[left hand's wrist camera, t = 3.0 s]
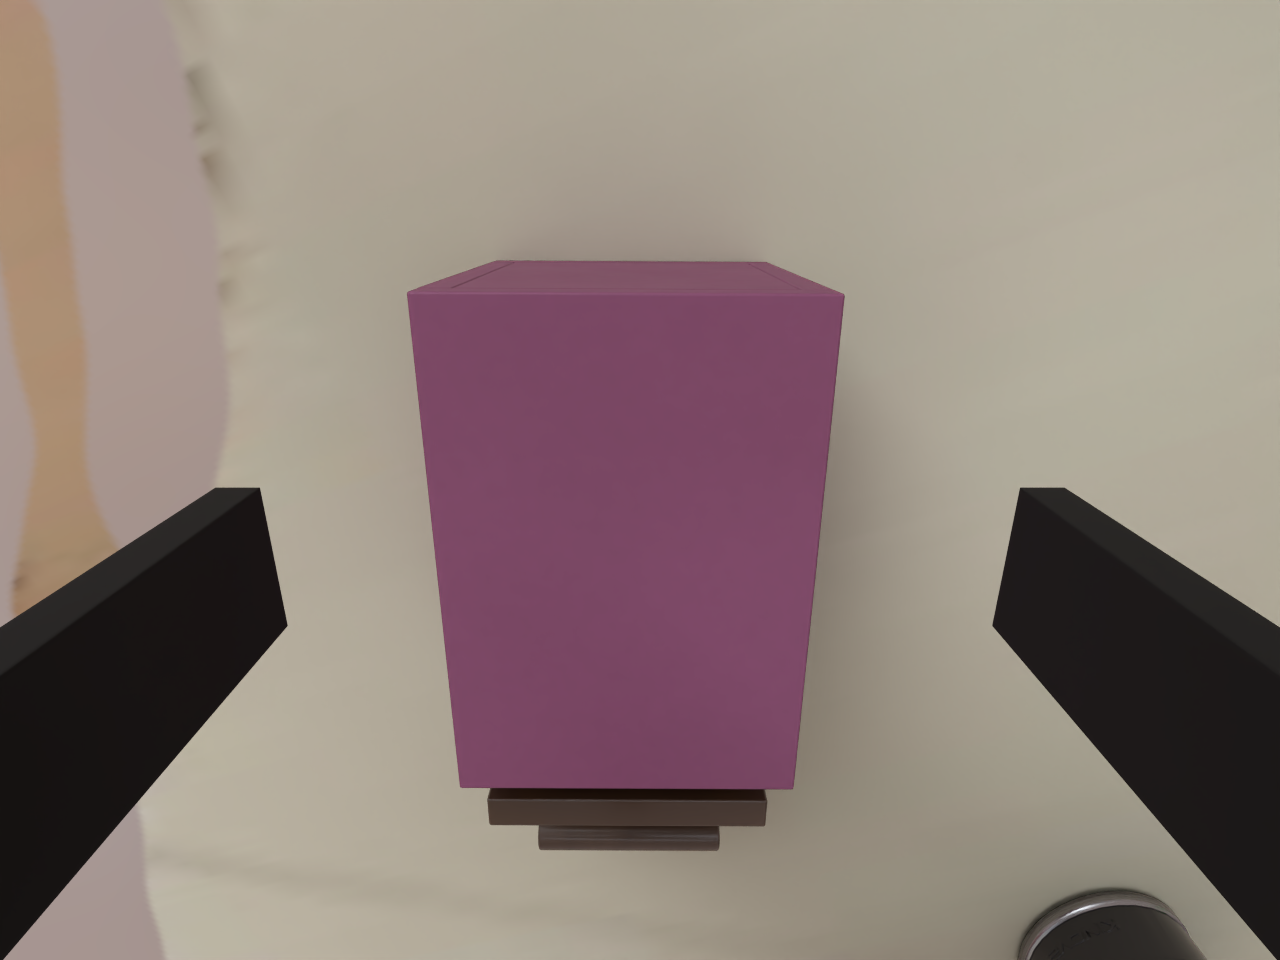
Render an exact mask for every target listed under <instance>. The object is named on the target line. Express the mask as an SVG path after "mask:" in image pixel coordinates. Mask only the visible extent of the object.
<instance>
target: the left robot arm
mask: <svg viewBox="0 0 1280 960" xmlns="http://www.w3.org/2000/svg"><path fill="white" fill-rule="evenodd" d="M287 626H288V625H287V620H286V615H285V610H284V605H283V600H282V595H281V590H280V585H279V581H278V576H277V571H276V566H275V561H274V556H273V551H272V546H271V541H270V536H269V531H268V526H267V521H266V516H265V511H264V506H263V501H262V496H261V491H260V488H214V489H213V490H211V491H210V492H208V493H207V494H205V495H204V496H202V497H200V498H199V499H197V500H196V501H194V502H193V503H191V504H190V505H188V506H187V507H185V508H183V509H182V510H181V511H179V512H177V513H176V514H174V515H173V516H171V517H170V518H168V519H167V520H165V521H163V522H162V523H160V524H159V525H157V526H156V527H154V528H153V529H151V530H150V531H148V532H147V533H145V534H143V535H142V536H140V537H139V538H137V539H136V540H134V541H133V542H131V543H130V544H128V545H126V546H125V547H123V548H122V549H120V550H119V551H117V552H116V553H114V554H113V555H111V556H110V557H108V558H106V559H105V560H103V561H102V562H100V563H99V564H97V565H96V566H94V567H93V568H91V569H89V570H88V571H86V572H85V573H83V574H82V575H80V576H79V577H77V578H76V579H74V580H73V581H71V582H69V583H68V584H66V585H65V586H63V587H62V588H60V589H59V590H57V591H56V592H54V593H53V594H51V595H49V596H48V597H46V598H45V599H43V600H42V601H40V602H39V603H37V604H36V605H34V606H32V607H31V608H29V609H28V610H26V611H25V612H23V613H22V614H20V615H19V616H17V617H16V618H14V619H12V620H11V621H9V622H8V623H6V624H5V625H3V626H2V627H0V960H3V959H4V958H5V957H6V956H7V955H8V953H9V952H10V951H11V950H12V949H13V947H14V946H15V945H16V944H17V943H18V942H19V940H20V939H21V938H22V937H23V936H24V935H25V933H26V932H27V931H28V930H29V929H30V927H31V926H32V925H33V924H34V923H35V922H36V920H37V919H38V918H39V917H40V916H41V915H42V913H43V912H44V911H45V910H46V909H47V908H48V906H49V905H50V904H51V903H52V902H53V900H54V899H55V898H56V897H57V896H58V895H59V893H60V892H61V891H62V890H63V889H64V888H65V886H66V885H67V884H68V883H69V882H70V881H71V879H72V878H73V877H74V876H75V875H76V874H77V872H78V871H79V870H80V869H81V868H82V866H83V865H84V864H85V863H86V862H87V861H88V859H89V858H90V857H91V856H92V855H93V853H94V852H95V851H96V850H97V849H98V848H99V847H100V845H101V844H102V843H103V842H104V841H105V839H106V838H107V837H108V836H109V835H110V834H111V832H112V831H113V830H114V829H115V828H116V827H117V825H118V824H119V823H120V822H121V821H122V820H123V818H124V817H125V816H126V815H127V814H128V812H129V811H130V810H131V809H132V808H133V807H134V805H135V804H136V803H137V802H138V801H139V800H140V798H141V797H142V796H143V795H144V794H145V793H146V791H147V790H148V789H149V788H150V787H151V786H152V784H153V783H154V782H155V781H156V780H157V778H158V777H159V776H160V775H161V774H162V773H163V771H164V770H165V769H166V768H167V767H168V766H169V764H170V763H171V762H172V761H173V760H174V759H175V757H176V756H177V755H178V754H179V753H180V751H181V750H182V749H183V748H184V747H185V746H186V744H187V743H188V742H189V741H190V740H191V739H192V737H193V736H194V735H195V734H196V733H197V732H198V730H199V729H200V728H201V727H202V726H203V724H204V723H205V722H206V721H207V720H208V719H209V717H210V716H211V715H212V714H213V713H214V712H215V710H216V709H217V708H218V707H219V706H220V705H221V703H222V702H223V701H224V700H225V699H226V697H227V696H228V695H229V694H230V693H231V692H232V690H233V689H234V688H235V687H236V686H237V685H238V683H239V682H240V681H241V680H242V679H243V678H244V676H245V675H246V674H247V673H248V672H249V670H250V669H251V668H252V667H253V666H254V665H255V663H256V662H257V661H258V660H259V659H260V658H261V656H262V655H263V654H264V653H265V652H266V651H267V649H268V648H269V647H270V646H271V645H272V643H273V642H274V641H275V640H276V639H277V638H278V636H279V635H280V634H281V633H282V632H283V631H284V629H285V628H286V627H287ZM992 626H993V627H994V628H995V629H996V631H997V632H998V633H999V634H1000V635H1001V636H1002V638H1003V639H1004V640H1005V641H1006V642H1007V643H1008V645H1009V646H1010V647H1011V648H1012V649H1013V651H1014V652H1015V653H1016V654H1017V655H1018V656H1019V658H1020V659H1021V660H1022V661H1023V662H1024V663H1025V665H1026V666H1027V667H1028V668H1029V669H1030V670H1031V672H1032V673H1033V674H1034V675H1035V676H1036V678H1037V679H1038V680H1039V681H1040V682H1041V683H1042V685H1043V686H1044V687H1045V688H1046V689H1047V690H1048V692H1049V693H1050V694H1051V695H1052V696H1053V697H1054V699H1055V700H1056V701H1057V702H1058V703H1059V705H1060V706H1061V707H1062V708H1063V709H1064V710H1065V712H1066V713H1067V714H1068V715H1069V716H1070V717H1071V719H1072V720H1073V721H1074V722H1075V723H1076V724H1077V726H1078V727H1079V728H1080V729H1081V730H1082V732H1083V733H1084V734H1085V735H1086V736H1087V737H1088V739H1089V740H1090V741H1091V742H1092V743H1093V744H1094V746H1095V747H1096V748H1097V749H1098V750H1099V751H1100V753H1101V754H1102V755H1103V756H1104V757H1105V759H1106V760H1107V761H1108V762H1109V763H1110V764H1111V766H1112V767H1113V768H1114V769H1115V770H1116V771H1117V773H1118V774H1119V775H1120V776H1121V777H1122V778H1123V780H1124V781H1125V782H1126V783H1127V784H1128V786H1129V787H1130V788H1131V789H1132V790H1133V791H1134V793H1135V794H1136V795H1137V796H1138V797H1139V798H1140V800H1141V801H1142V802H1143V803H1144V804H1145V805H1146V807H1147V808H1148V809H1149V810H1150V811H1151V812H1152V814H1153V815H1154V816H1155V817H1156V818H1157V820H1158V821H1159V822H1160V823H1161V824H1162V825H1163V827H1164V828H1165V829H1166V830H1167V831H1168V832H1169V834H1170V835H1171V836H1172V837H1173V838H1174V839H1175V841H1176V842H1177V843H1178V844H1179V845H1180V847H1181V848H1182V849H1183V850H1184V851H1185V852H1186V854H1187V855H1188V856H1189V857H1190V858H1191V859H1192V861H1193V862H1194V863H1195V864H1196V865H1197V866H1198V868H1199V869H1200V870H1201V871H1202V872H1203V874H1204V875H1205V876H1206V877H1207V878H1208V879H1209V881H1210V882H1211V883H1212V884H1213V885H1214V886H1215V888H1216V889H1217V890H1218V891H1219V892H1220V893H1221V895H1222V896H1223V897H1224V898H1225V899H1226V901H1227V902H1228V903H1229V904H1230V905H1231V906H1232V908H1233V909H1234V910H1235V911H1236V912H1237V913H1238V915H1239V916H1240V917H1241V918H1242V919H1243V920H1244V922H1245V923H1246V924H1247V925H1248V926H1249V928H1250V929H1251V930H1252V931H1253V932H1254V933H1255V935H1256V936H1257V937H1258V938H1259V939H1260V940H1261V942H1262V943H1263V944H1264V945H1265V946H1266V947H1267V949H1268V950H1269V951H1270V952H1271V953H1272V955H1273V956H1274V957H1275V958H1276V959H1277V960H1280V627H1278V626H1277V625H1275V624H1274V623H1272V622H1271V621H1269V620H1268V619H1266V618H1264V617H1263V616H1261V615H1260V614H1258V613H1257V612H1255V611H1254V610H1252V609H1251V608H1249V607H1248V606H1246V605H1244V604H1243V603H1241V602H1240V601H1238V600H1237V599H1235V598H1234V597H1232V596H1231V595H1229V594H1227V593H1226V592H1224V591H1223V590H1221V589H1220V588H1218V587H1217V586H1215V585H1214V584H1212V583H1211V582H1209V581H1207V580H1206V579H1204V578H1203V577H1201V576H1200V575H1198V574H1197V573H1195V572H1194V571H1192V570H1191V569H1189V568H1187V567H1186V566H1184V565H1183V564H1181V563H1180V562H1178V561H1177V560H1175V559H1174V558H1172V557H1170V556H1169V555H1167V554H1166V553H1164V552H1163V551H1161V550H1160V549H1158V548H1157V547H1155V546H1154V545H1152V544H1150V543H1149V542H1147V541H1146V540H1144V539H1143V538H1141V537H1140V536H1138V535H1137V534H1135V533H1134V532H1132V531H1130V530H1129V529H1127V528H1126V527H1124V526H1123V525H1121V524H1120V523H1118V522H1117V521H1115V520H1113V519H1112V518H1110V517H1109V516H1107V515H1106V514H1104V513H1103V512H1101V511H1100V510H1098V509H1097V508H1095V507H1093V506H1092V505H1090V504H1089V503H1087V502H1086V501H1084V500H1083V499H1081V498H1080V497H1078V496H1076V495H1075V494H1073V493H1072V492H1070V491H1069V490H1067V489H1066V488H1020V491H1019V496H1018V501H1017V506H1016V511H1015V516H1014V521H1013V526H1012V531H1011V536H1010V541H1009V546H1008V551H1007V556H1006V561H1005V566H1004V571H1003V576H1002V581H1001V585H1000V590H999V595H998V600H997V605H996V610H995V615H994V620H993V625H992Z"/></svg>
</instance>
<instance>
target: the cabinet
mask: <svg viewBox="0 0 1280 960" xmlns="http://www.w3.org/2000/svg"><path fill="white" fill-rule="evenodd" d="M844 297H845V296H844V294H842V293H840V292H837V291H835V290H832V289H830V288H827V287H825V286H822V285H820V284H818V283H815V282H813V281H810V280H808V279H805V278H803V277H801V276H798V275H796V274H793V273H791V272H789V271H786V270H784V269H781V268H779V267H776V266H774V265H772V264H770V263H767V262H651V261H494V262H491V263H488V264H485V265H482V266H479V267H476V268H474V269H471V270H468V271H465V272H462V273H459V274H456V275H453V276H451V277H448V278H445V279H442V280H439V281H436V282H433V283H430V284H428V285H425V286H422V287H419V288H417V289H414V290H411V291H409V292H408V293H407V298H408V307H409V316H410V325H411V335H412V344H413V353H414V363H415V372H416V381H417V391H418V400H419V409H420V418H421V428H422V437H423V446H424V456H425V465H426V474H427V484H428V493H429V502H430V511H431V521H432V530H433V539H434V549H435V558H436V567H437V577H438V586H439V595H440V605H441V614H442V623H443V632H444V642H445V651H446V660H447V670H448V679H449V688H450V698H451V707H452V716H453V725H454V735H455V744H456V753H457V763H458V772H459V781H460V787H461V788H616V789H793V787H794V777H795V767H796V758H797V748H798V739H799V729H800V719H801V710H802V700H803V691H804V681H805V671H806V662H807V652H808V643H809V633H810V623H811V614H812V604H813V595H814V585H815V575H816V566H817V556H818V547H819V537H820V527H821V518H822V508H823V499H824V489H825V479H826V470H827V460H828V451H829V441H830V431H831V422H832V412H833V403H834V393H835V383H836V374H837V364H838V355H839V345H840V335H841V326H842V316H843V306H844Z"/></svg>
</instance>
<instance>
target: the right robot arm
mask: <svg viewBox="0 0 1280 960" xmlns="http://www.w3.org/2000/svg"><path fill="white" fill-rule="evenodd" d="M1019 960H1207V959H1206V957H1205V956H1204V955H1203V954H1202V952H1201V951H1200V950H1199V948H1198V947H1197V946H1196V944H1195V943H1194V942H1193V940H1192V939H1191V938H1190V936H1189V934H1188V932H1187V930H1186V928H1185V927H1184V925H1183V924H1182V923H1181V921H1180V920H1179V919H1178V918H1177V916H1176V915H1175V914H1174V912H1173V911H1172V910H1171V909H1170V908H1169V907H1168V906H1167V905H1165V904H1164V903H1162V902H1161V901H1159V900H1157V899H1155V898H1153V897H1150V896H1147V895H1144V894H1140V893H1135V892H1127V891H1109V892H1100V893H1095V894H1090V895H1086V896H1082V897H1079V898H1077V899H1074V900H1071V901H1069V902H1066V903H1064V904H1062V905H1060V906H1059V907H1057V908H1055V909H1053V910H1052V911H1050V912H1049V913H1048V914H1046V915H1045V916H1044V917H1042V918H1041V919H1040V920H1039V921H1038V922H1037V923H1036V924H1035V925H1034V926H1033V927H1032V928H1031V929H1030V931H1029V932H1028V934H1027V935H1026V937H1025V939H1024V940H1023V943H1022V945H1021V948H1020V953H1019Z"/></svg>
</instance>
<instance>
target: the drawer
mask: <svg viewBox="0 0 1280 960" xmlns="http://www.w3.org/2000/svg"><path fill="white" fill-rule="evenodd" d="M487 802H488V813H489V823H490V825H539V832H538V844H539V849H540V850H646V851H717V850H718V849H719V841H720V835H719V826H765V821H766V809H767V798H766V793H765V789H616V788H490V791H489V795H488V799H487Z"/></svg>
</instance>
